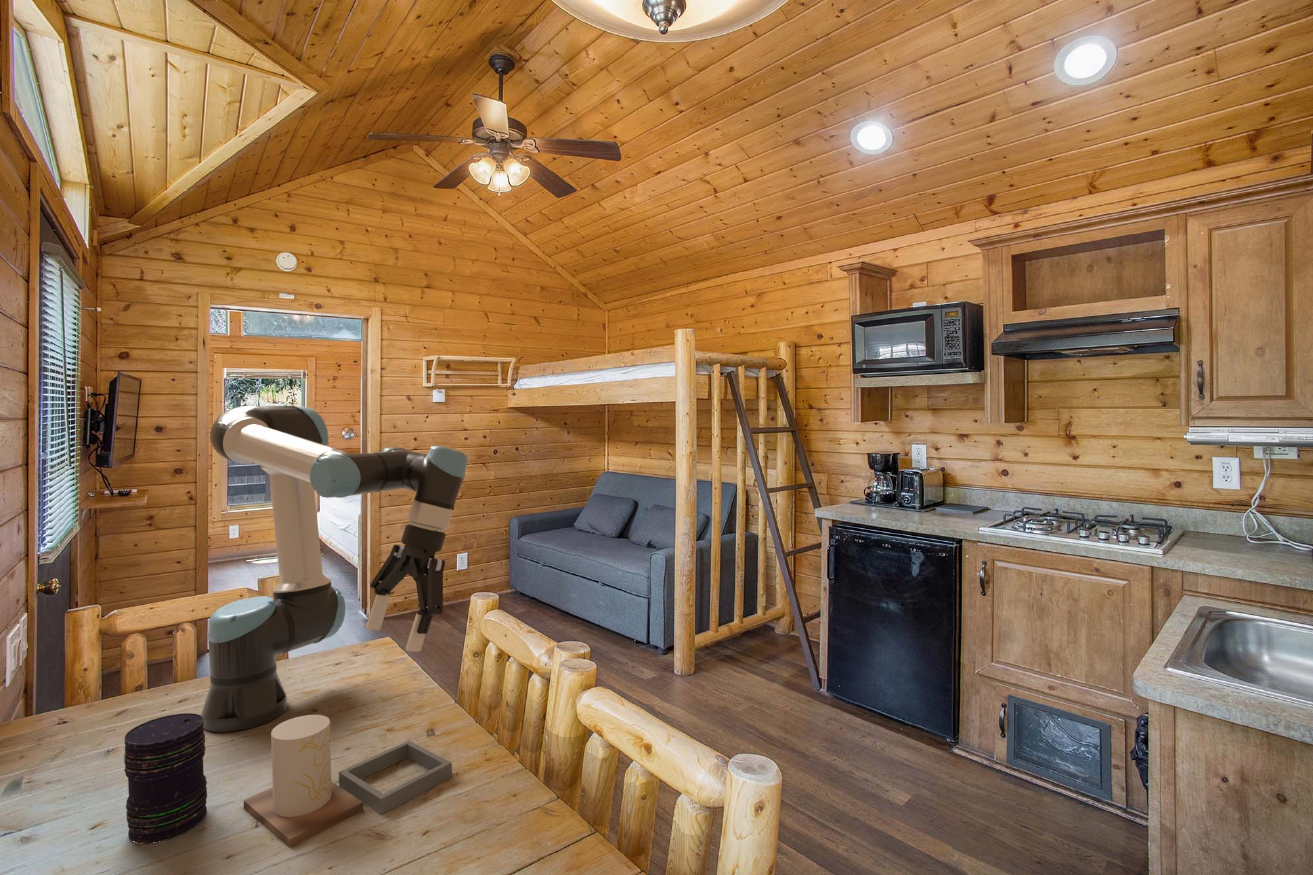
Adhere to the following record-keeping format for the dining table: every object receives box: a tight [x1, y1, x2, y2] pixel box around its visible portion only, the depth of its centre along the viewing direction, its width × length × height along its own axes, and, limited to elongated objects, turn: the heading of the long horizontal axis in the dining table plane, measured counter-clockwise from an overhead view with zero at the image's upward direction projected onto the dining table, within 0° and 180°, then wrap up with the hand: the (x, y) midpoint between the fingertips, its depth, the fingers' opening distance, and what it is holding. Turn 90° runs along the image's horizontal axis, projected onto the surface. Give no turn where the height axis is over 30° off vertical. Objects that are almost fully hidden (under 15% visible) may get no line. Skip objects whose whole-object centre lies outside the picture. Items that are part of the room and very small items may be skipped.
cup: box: [270, 714, 332, 817], centre depth 103 cm, size 8×8×12 cm
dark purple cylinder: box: [123, 712, 208, 844], centre depth 99 cm, size 10×10×15 cm
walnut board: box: [243, 780, 364, 848], centre depth 103 cm, size 16×11×1 cm
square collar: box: [338, 739, 453, 815], centre depth 110 cm, size 13×13×2 cm
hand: (391, 639), depth 119 cm, fingers open, 13 cm apart
